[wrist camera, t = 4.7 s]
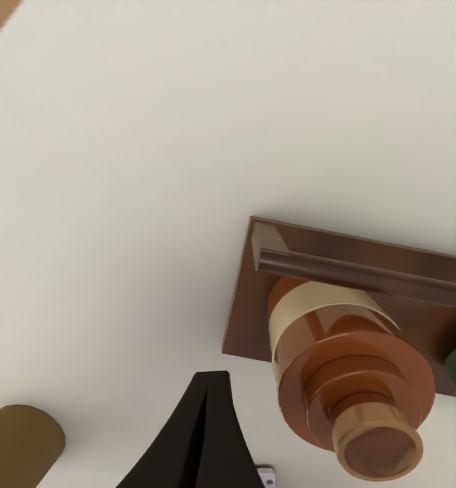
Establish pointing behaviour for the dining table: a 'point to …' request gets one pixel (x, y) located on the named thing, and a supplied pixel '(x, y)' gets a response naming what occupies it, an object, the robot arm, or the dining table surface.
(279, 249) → the rack
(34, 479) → the olive pawn
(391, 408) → the amber bottle
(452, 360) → the green bottle
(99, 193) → the dining table surface
